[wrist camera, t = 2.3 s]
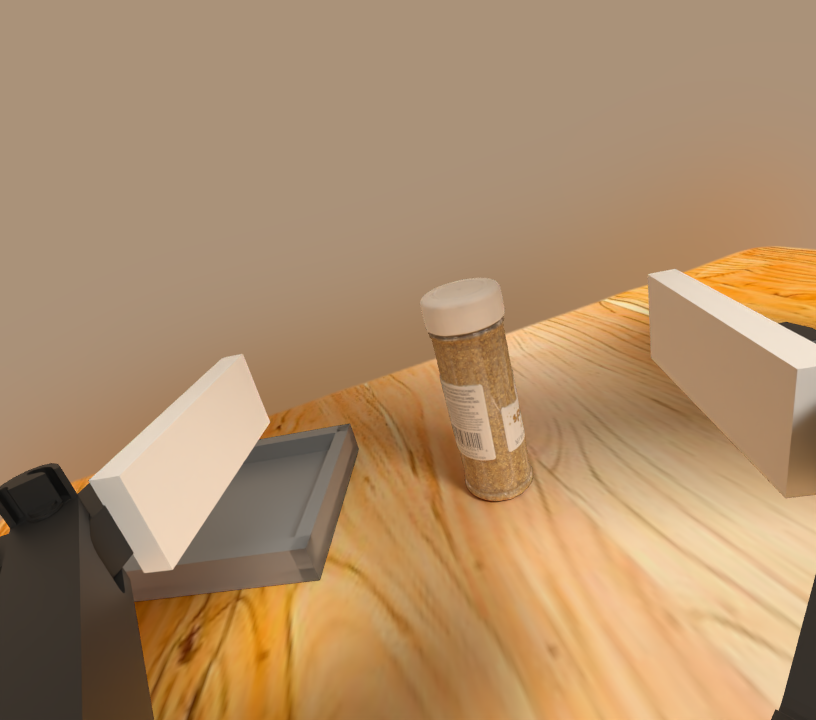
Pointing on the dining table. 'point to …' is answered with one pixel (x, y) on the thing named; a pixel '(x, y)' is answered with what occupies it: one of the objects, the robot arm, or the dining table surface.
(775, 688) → the dining table surface
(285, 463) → the tray
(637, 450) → the dining table surface
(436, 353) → the sprinkles bottle
